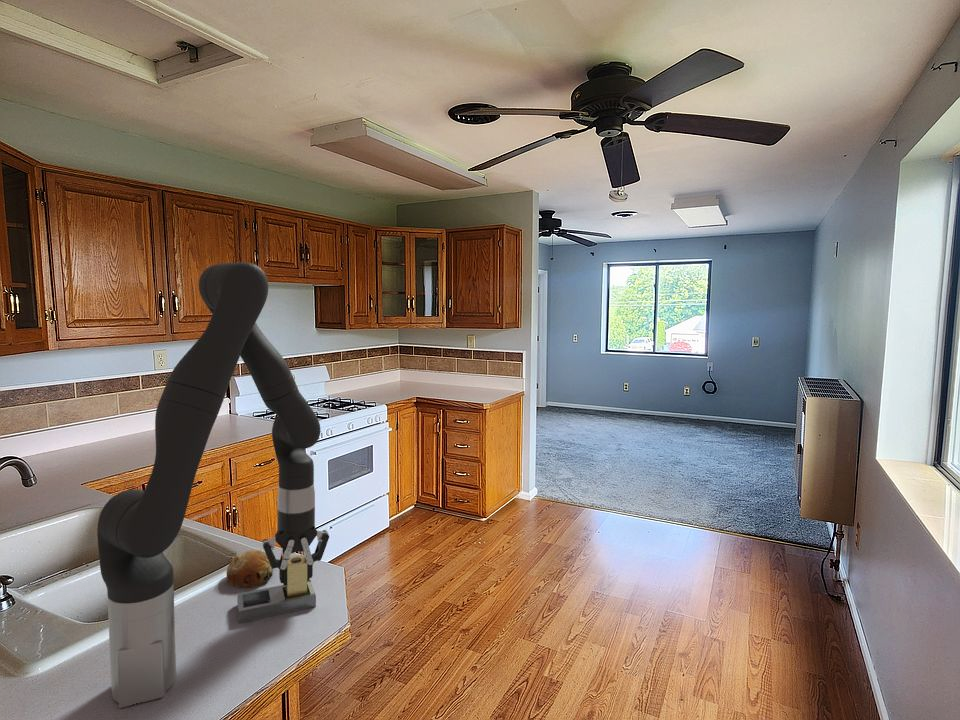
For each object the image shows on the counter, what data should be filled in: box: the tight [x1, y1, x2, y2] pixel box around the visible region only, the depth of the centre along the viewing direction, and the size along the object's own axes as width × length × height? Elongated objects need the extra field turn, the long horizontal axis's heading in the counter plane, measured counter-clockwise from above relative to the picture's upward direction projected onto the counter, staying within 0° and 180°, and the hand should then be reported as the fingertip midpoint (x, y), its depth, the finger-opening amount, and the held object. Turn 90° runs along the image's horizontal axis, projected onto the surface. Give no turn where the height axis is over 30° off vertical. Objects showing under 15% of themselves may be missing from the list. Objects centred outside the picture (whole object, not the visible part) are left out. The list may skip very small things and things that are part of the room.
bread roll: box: [226, 549, 274, 588], centre depth 126 cm, size 10×10×8 cm
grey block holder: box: [236, 579, 317, 624], centre depth 115 cm, size 7×15×2 cm, turn 116°
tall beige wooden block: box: [285, 554, 307, 599], centre depth 116 cm, size 4×4×8 cm
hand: (296, 581), depth 116 cm, fingers closed on tall beige wooden block, 4 cm apart
